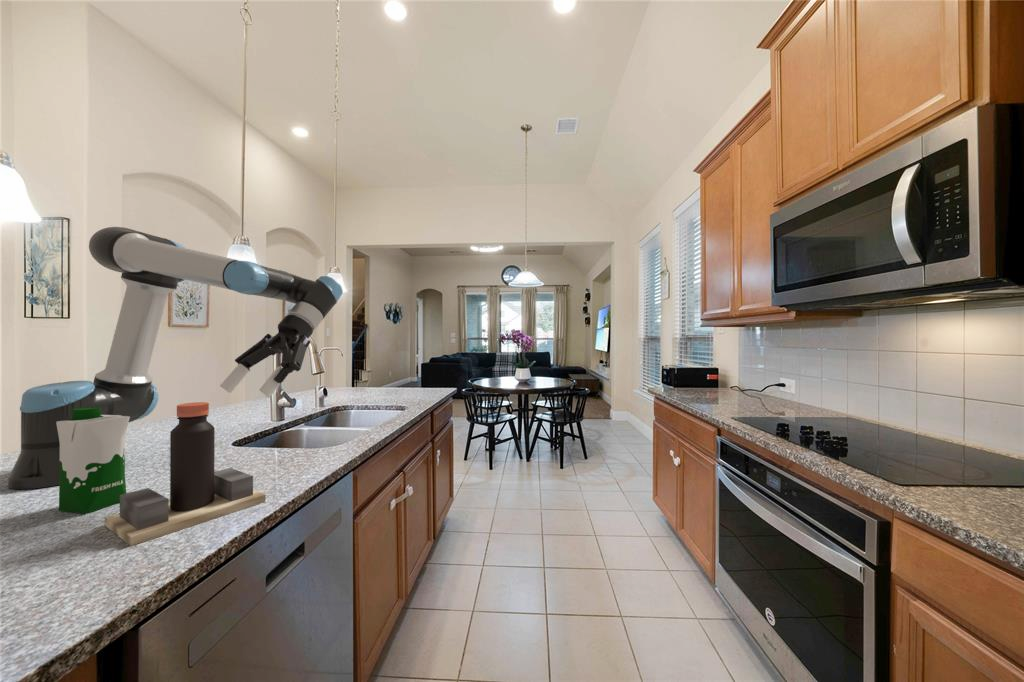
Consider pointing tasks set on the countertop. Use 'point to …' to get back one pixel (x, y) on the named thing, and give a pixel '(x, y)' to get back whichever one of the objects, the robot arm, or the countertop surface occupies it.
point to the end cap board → (154, 517)
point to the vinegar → (192, 458)
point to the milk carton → (91, 460)
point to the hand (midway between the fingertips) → (244, 391)
